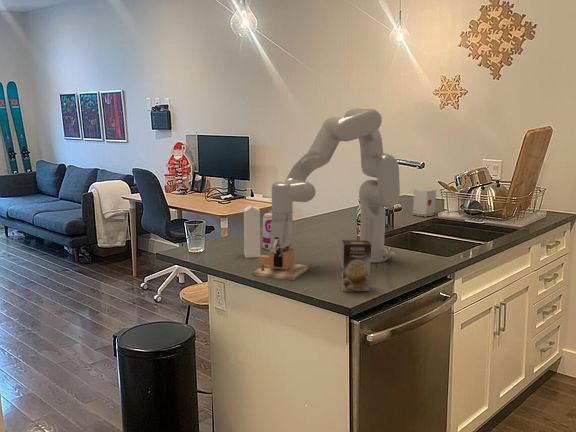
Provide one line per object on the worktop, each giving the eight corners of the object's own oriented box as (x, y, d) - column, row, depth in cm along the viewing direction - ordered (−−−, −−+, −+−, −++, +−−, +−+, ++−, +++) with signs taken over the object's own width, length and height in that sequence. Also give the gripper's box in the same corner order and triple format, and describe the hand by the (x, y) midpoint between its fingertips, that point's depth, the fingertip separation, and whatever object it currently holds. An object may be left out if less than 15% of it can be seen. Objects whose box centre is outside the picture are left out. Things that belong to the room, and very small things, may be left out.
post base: (309, 268, 215) (309, 255, 214) (294, 280, 201) (294, 266, 200) (270, 264, 221) (270, 251, 220) (252, 275, 207) (252, 261, 206)
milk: (258, 253, 237) (258, 200, 233) (260, 257, 231) (260, 203, 227) (243, 254, 236) (243, 201, 232) (245, 257, 230) (245, 203, 226)
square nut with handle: (294, 264, 213) (294, 248, 212) (287, 269, 206) (287, 253, 205) (263, 261, 217) (263, 245, 216) (255, 265, 211) (255, 249, 210)
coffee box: (342, 292, 189) (343, 244, 186) (339, 286, 195) (340, 239, 192) (370, 291, 189) (371, 244, 186) (366, 285, 195) (368, 239, 192)
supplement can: (279, 251, 241) (280, 216, 238) (260, 250, 242) (260, 215, 240) (284, 246, 249) (284, 212, 246) (265, 245, 250) (265, 211, 247)
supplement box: (425, 218, 315) (427, 190, 312) (412, 215, 321) (413, 189, 319) (435, 216, 321) (436, 189, 318) (421, 213, 327) (423, 187, 325)
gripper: (281, 211, 217) (281, 257, 220) (262, 220, 201) (263, 269, 204) (300, 213, 214) (300, 259, 217) (282, 221, 198) (282, 271, 201)
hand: (282, 263), depth 211 cm, fingers closed on square nut with handle, 7 cm apart
